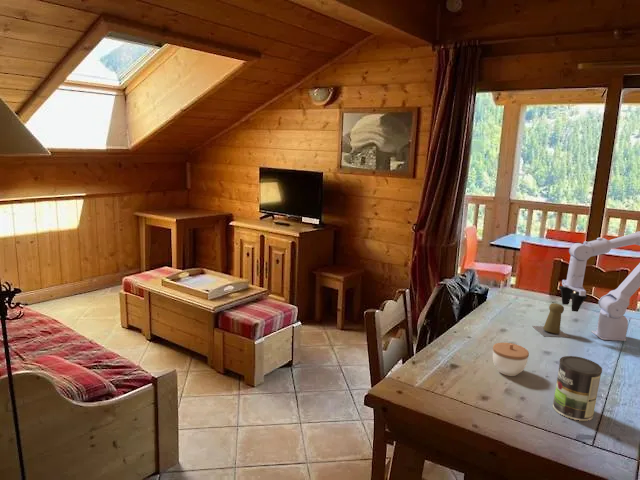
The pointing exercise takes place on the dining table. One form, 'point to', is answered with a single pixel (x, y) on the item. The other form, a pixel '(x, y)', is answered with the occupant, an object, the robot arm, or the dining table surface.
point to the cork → (554, 318)
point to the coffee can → (577, 388)
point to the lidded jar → (509, 358)
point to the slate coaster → (549, 334)
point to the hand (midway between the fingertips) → (569, 307)
